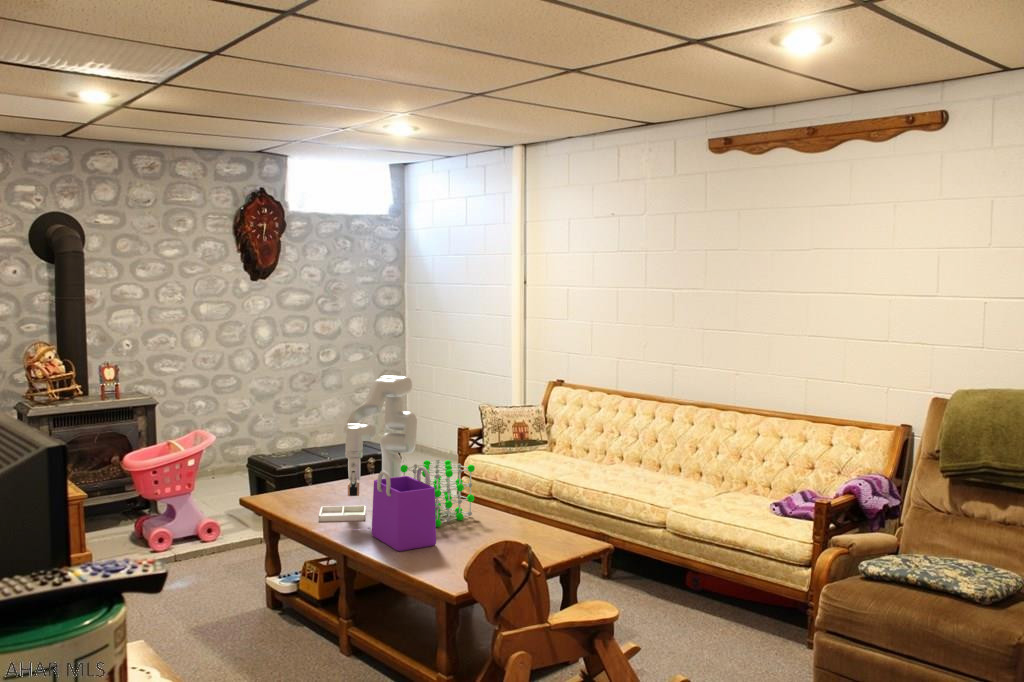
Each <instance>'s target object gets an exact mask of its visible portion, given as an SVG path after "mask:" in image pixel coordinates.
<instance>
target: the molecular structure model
mask: <svg viewBox="0 0 1024 682" xmlns="http://www.w3.org/2000/svg"><path fill="white" fill-rule="evenodd" d="M439 464H440V465H439ZM421 466H423V467H425V468H426V469H427V470H428V472H429V475H430V476H432V477H434V478H430V486H432V485H433V486H432V487H434V488H435V516H436V528H440V527H441V525H442V524H443V523H445V522H447V523H450V522H451V521H452V520H455V519H456V520H457V521H459V520H460V521H462V520H463V519H464V517H467V516H468V517H469V516H472V515H473V512H472V503H473V502H474V501H475V496H474V495H473V494H472V487H473V483H472V473H473V472H475V469H476V468H475V467H476V466H475V465H474V464H469V465H467V466H464V465H462V464H461V463H457V464H455V463H452V461H451V460H449V459H446V460H445V461H440V459H438V458H437V459H436V460H435V461H433V462H431V461H430V460H428V459H426V460H424V461H423V462H422V464H417V463H415V464H413V466H408V465H406V464H402V466H401V468H400V469H401V471H402V473H403V476H406V473H407V472H408V471H411V472H412V473H413V478H414V479H416V480H417V470H418V468H419V467H421ZM434 468H435V469H434ZM455 468H457V469H455ZM461 468H464V469H461ZM466 471H467V472H469V483H466V482H465V483H464V482H463V481H464V480H462V478H461V476H462V475H461V474H462V472H466ZM433 473H435V474H433ZM421 474H422V477H424V480H422V481H421V482H423V483H425V484H426V476H425V473H424V471H423V470H422V471H421ZM453 474H457V475H458V477H457V479H455V480H452V479H451V477H453ZM444 476H445V477H446V478H443V477H444ZM443 482H446V483H443ZM450 482H452V483H450ZM450 487H451V488H450ZM452 487H453V488H452ZM467 487H468V488H469V494H468V495H467V496H463V495H462V494H461V493H462V491H463V490H464V489H465V488H467ZM444 488H446V489H444ZM454 490H456V491H457V494H454V493H452V491H454ZM455 498H457V500H455ZM461 498H463V499H461ZM443 501H445V502H443ZM465 501H467V502H469V511H468V512H465V511H463V508H462V507H461V504H462V503H463V502H465ZM453 504H458V505H457V507H456V508H454V509H453V508H452V507H453ZM445 510H446V512H443V511H445ZM450 511H452V512H450ZM440 514H442V515H440ZM446 516H447V517H446ZM443 517H446V518H443ZM441 520H442V521H441Z"/></svg>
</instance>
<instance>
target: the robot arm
mask: <svg viewBox="0 0 1024 682" xmlns="http://www.w3.org/2000/svg"><path fill="white" fill-rule="evenodd" d="M412 382H413V381H412V380H411V378H410V377H408V376H403V375H381V376H379V377H378V378H377V379H375V380H373V381H372V383H371V386H370V388H369V390H368V392H367V395H366V397H365V400H364V402H363V403H362V404H360V405H359V406H358V407H356V408H355V409H353V411H351V413H349V416H348V417H347V419H346V422H345V423H344V427H343V436H344V437H345V458H346V459H347V460H348V461H347V465H348V466H347V471H348V473H347V474H348V481H349V483H350V496H349V497H358V496H357V482H358V481H360V480H361V459H362V458H363V455H364V453H363V449H364V447H363V444H364V442H366V441H367V442H368V441H372V440H373V439H374V438H375V436H376V428H375V427H374V425H372V424H370V423H362V422H361V423H360V421H361V420H363V419H365V418H368V417H371V416H374V415H377V414H378V413H380V412H381V411H382V408H383V406H384V426H385V428H386V429H387V430H391V431H403V432H404V433H403V432H402V433H400V432H385V433H383V434H381V437H380V443H379V444H380V450H381V471H386V472H387V473H388V474H389V477H390V478H393V477H402V473H403V472H402V471H401V469H400V468H401V466H402V465H403V464H402V458H401V456H400V454H412V453H413V452H414V451H415V449H416V445H417V432H418V431H417V429H418V425H417V424H418V419H417V416H416V413H414V412H412V411H410V410H409V411H406V410H404V409H403V404H404V401H403V398H402V397H404V396H406V395H408V394H409V393H410V392H411V390H412V388H413V383H412ZM384 404H385V405H384ZM382 479H385V476H384V475H383V476H382Z"/></svg>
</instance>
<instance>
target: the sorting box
mask: <svg viewBox="0 0 1024 682" xmlns="http://www.w3.org/2000/svg"><path fill="white" fill-rule="evenodd" d="M366 508H367V506H366V505H333V506H331V505H330V506H329V505H328V506H327V505H326V506H321V507H320V509H319V512H318V513H319V514H318V522H345V521H346V522H348V521H349V522H350V521H352V522H353V521H356V522H357V521H358V522H359V521H366V516H367V515H366V511H367V509H366Z"/></svg>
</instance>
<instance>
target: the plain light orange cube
mask: <svg viewBox="0 0 1024 682" xmlns="http://www.w3.org/2000/svg"><path fill="white" fill-rule="evenodd" d="M347 497H351V496H350V482H348V483H347ZM356 497H360V482H358V481H357V496H356Z"/></svg>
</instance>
